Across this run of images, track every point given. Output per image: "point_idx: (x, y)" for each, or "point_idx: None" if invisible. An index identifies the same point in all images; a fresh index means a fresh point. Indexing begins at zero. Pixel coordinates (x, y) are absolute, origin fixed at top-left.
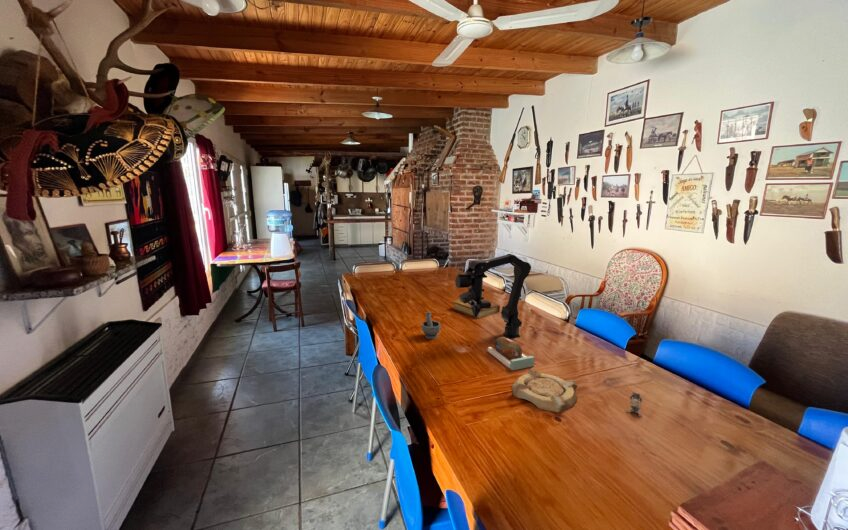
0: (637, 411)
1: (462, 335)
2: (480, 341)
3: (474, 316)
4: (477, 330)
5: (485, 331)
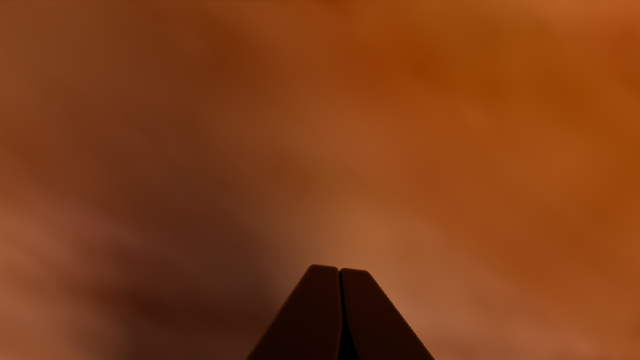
0: None
1: (586, 20)
2: (265, 112)
3: (311, 277)
4: (564, 289)
5: (477, 339)
